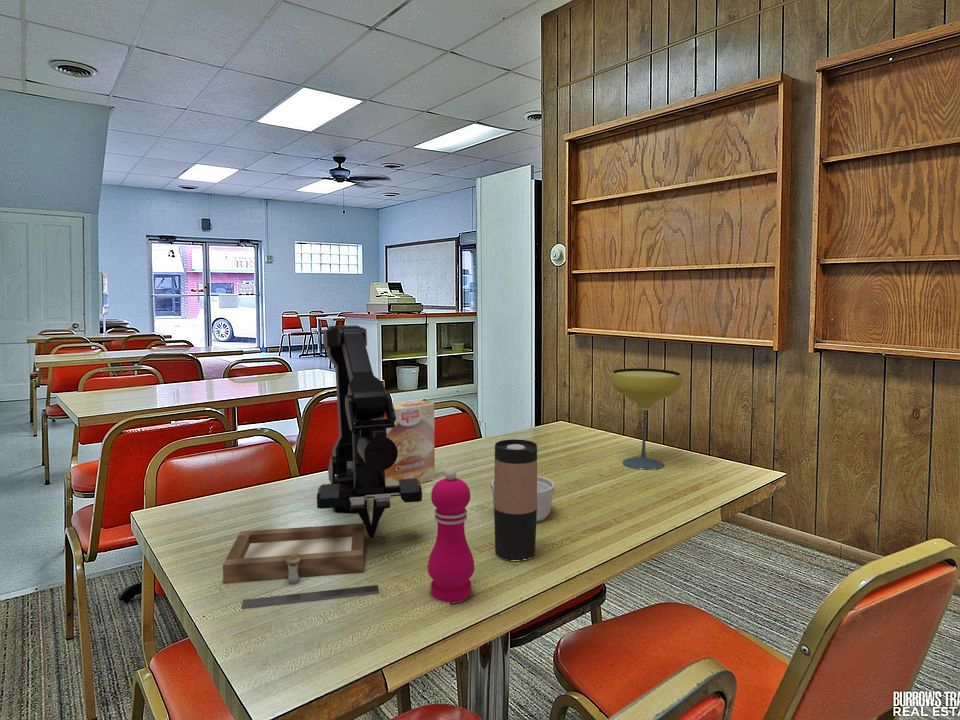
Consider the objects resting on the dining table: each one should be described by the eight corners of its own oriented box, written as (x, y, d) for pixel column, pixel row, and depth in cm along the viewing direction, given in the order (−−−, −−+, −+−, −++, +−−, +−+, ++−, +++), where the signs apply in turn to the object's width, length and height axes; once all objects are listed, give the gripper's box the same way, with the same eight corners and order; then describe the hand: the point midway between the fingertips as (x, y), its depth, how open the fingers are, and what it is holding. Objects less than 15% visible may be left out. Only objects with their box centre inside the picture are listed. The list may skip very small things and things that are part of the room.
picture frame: (364, 538, 116) (363, 519, 116) (363, 579, 100) (362, 556, 100) (241, 547, 113) (240, 527, 112) (219, 590, 96) (218, 567, 96)
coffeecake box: (384, 493, 144) (383, 410, 141) (368, 485, 149) (367, 406, 147) (436, 480, 153) (435, 402, 151) (419, 473, 159) (418, 398, 156)
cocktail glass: (689, 463, 168) (693, 372, 165) (659, 478, 155) (663, 379, 152) (629, 451, 180) (631, 366, 177) (596, 465, 166) (598, 373, 164)
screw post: (299, 581, 100) (298, 560, 100) (298, 585, 99) (298, 565, 98) (289, 582, 100) (288, 561, 100) (288, 587, 98) (287, 566, 98)
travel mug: (491, 545, 115) (492, 439, 112) (532, 543, 115) (533, 438, 113) (496, 563, 107) (496, 450, 105) (539, 561, 108) (541, 449, 105)
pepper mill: (447, 578, 101) (446, 459, 99) (483, 591, 97) (483, 467, 95) (418, 596, 95) (416, 470, 93) (455, 610, 91) (455, 479, 89)
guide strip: (377, 589, 98) (377, 584, 98) (378, 595, 96) (378, 590, 96) (243, 604, 93) (243, 599, 93) (241, 611, 91) (241, 606, 91)
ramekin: (559, 508, 134) (560, 476, 133) (545, 530, 122) (546, 496, 121) (501, 501, 139) (501, 470, 138) (482, 522, 126) (482, 488, 125)
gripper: (416, 442, 123) (418, 517, 125) (319, 447, 119) (322, 525, 121) (421, 457, 112) (423, 540, 114) (314, 463, 109) (318, 548, 110)
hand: (371, 537), depth 115 cm, fingers closed
